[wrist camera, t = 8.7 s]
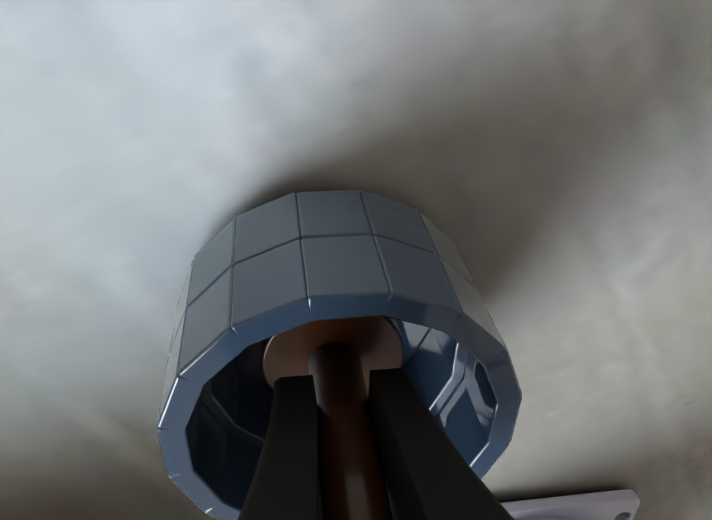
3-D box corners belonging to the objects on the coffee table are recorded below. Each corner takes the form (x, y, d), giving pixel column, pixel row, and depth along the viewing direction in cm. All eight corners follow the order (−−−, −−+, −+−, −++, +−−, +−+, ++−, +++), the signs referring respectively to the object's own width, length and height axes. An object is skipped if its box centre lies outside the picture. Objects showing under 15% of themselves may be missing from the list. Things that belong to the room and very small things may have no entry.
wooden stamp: (387, 356, 15) (492, 763, 8) (265, 366, 15) (272, 800, 8) (394, 255, 13) (532, 664, 7) (256, 263, 13) (257, 704, 6)
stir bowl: (445, 390, 17) (490, 522, 14) (199, 410, 16) (185, 557, 13) (478, 171, 13) (553, 282, 10) (161, 184, 12) (126, 308, 9)
